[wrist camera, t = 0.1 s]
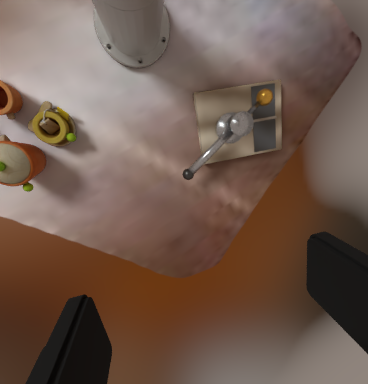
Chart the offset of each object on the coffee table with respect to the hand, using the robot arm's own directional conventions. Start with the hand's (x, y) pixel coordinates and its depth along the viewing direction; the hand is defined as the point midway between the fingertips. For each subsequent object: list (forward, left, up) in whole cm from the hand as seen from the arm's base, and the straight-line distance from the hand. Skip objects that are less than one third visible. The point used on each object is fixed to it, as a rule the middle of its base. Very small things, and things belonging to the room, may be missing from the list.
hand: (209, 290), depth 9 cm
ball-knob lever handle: (-3, +13, -35) cm, 37 cm away
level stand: (-5, +18, -37) cm, 41 cm away
